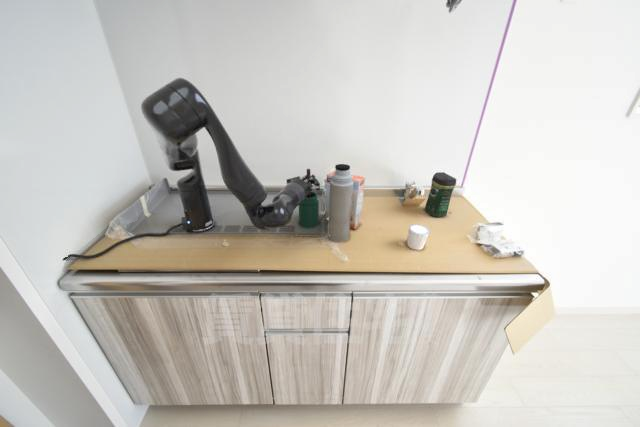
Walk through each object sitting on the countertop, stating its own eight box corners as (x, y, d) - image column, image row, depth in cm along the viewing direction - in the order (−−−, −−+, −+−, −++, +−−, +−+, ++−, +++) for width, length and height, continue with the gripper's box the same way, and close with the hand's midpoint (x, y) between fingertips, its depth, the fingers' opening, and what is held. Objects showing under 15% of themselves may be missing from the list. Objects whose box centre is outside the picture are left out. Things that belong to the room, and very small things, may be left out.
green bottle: (304, 229, 97) (303, 200, 90) (296, 220, 103) (295, 192, 96) (321, 225, 100) (322, 196, 94) (313, 216, 106) (313, 189, 100)
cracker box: (360, 223, 101) (365, 176, 91) (354, 230, 97) (359, 181, 87) (331, 214, 108) (333, 169, 98) (324, 220, 103) (326, 174, 93)
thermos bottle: (349, 231, 96) (355, 163, 82) (347, 243, 89) (354, 170, 75) (330, 229, 97) (332, 161, 84) (326, 240, 90) (329, 168, 77)
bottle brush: (306, 219, 97) (305, 171, 88) (302, 214, 100) (301, 168, 91) (315, 216, 99) (315, 169, 89) (311, 212, 102) (310, 166, 92)
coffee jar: (449, 217, 107) (461, 178, 98) (432, 218, 106) (444, 178, 97) (437, 207, 116) (447, 170, 107) (421, 208, 114) (430, 171, 106)
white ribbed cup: (424, 242, 90) (429, 226, 87) (425, 252, 85) (430, 236, 81) (405, 238, 92) (409, 222, 89) (405, 248, 86) (408, 232, 83)
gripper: (313, 185, 76) (328, 169, 91) (274, 180, 80) (294, 165, 94) (313, 206, 80) (327, 187, 94) (276, 200, 83) (295, 183, 98)
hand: (311, 176), depth 94 cm, fingers closed on bottle brush, 1 cm apart
